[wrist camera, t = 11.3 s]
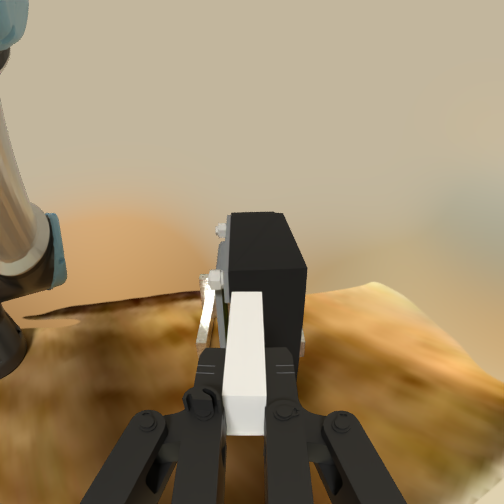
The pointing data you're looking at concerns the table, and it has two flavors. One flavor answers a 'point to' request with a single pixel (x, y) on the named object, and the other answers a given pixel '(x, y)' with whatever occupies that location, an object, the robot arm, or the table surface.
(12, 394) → the table surface
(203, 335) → the mounting bracket
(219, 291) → the electrical component
